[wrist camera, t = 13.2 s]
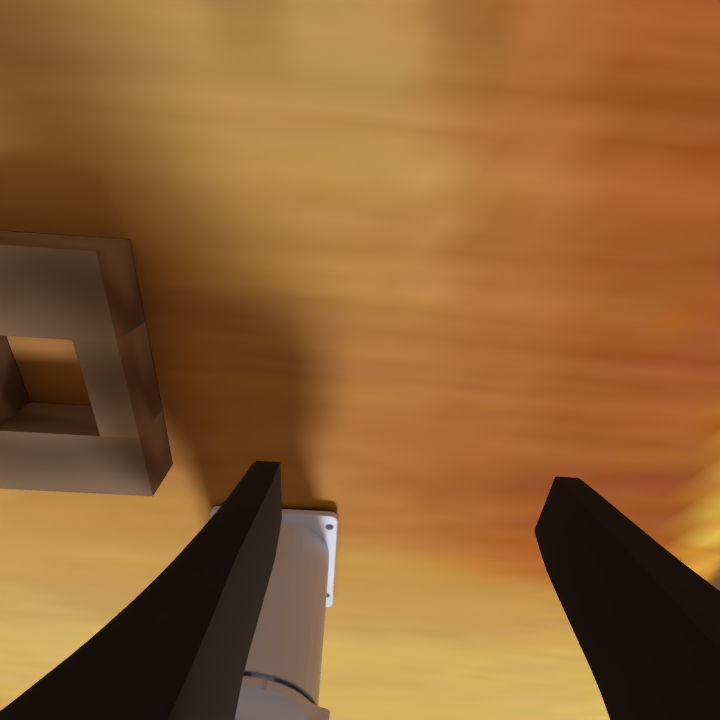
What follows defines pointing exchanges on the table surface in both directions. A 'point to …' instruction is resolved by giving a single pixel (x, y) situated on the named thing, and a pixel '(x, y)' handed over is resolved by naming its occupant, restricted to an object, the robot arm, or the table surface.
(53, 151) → the table surface
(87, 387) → the pocket board
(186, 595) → the robot arm
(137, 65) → the table surface
